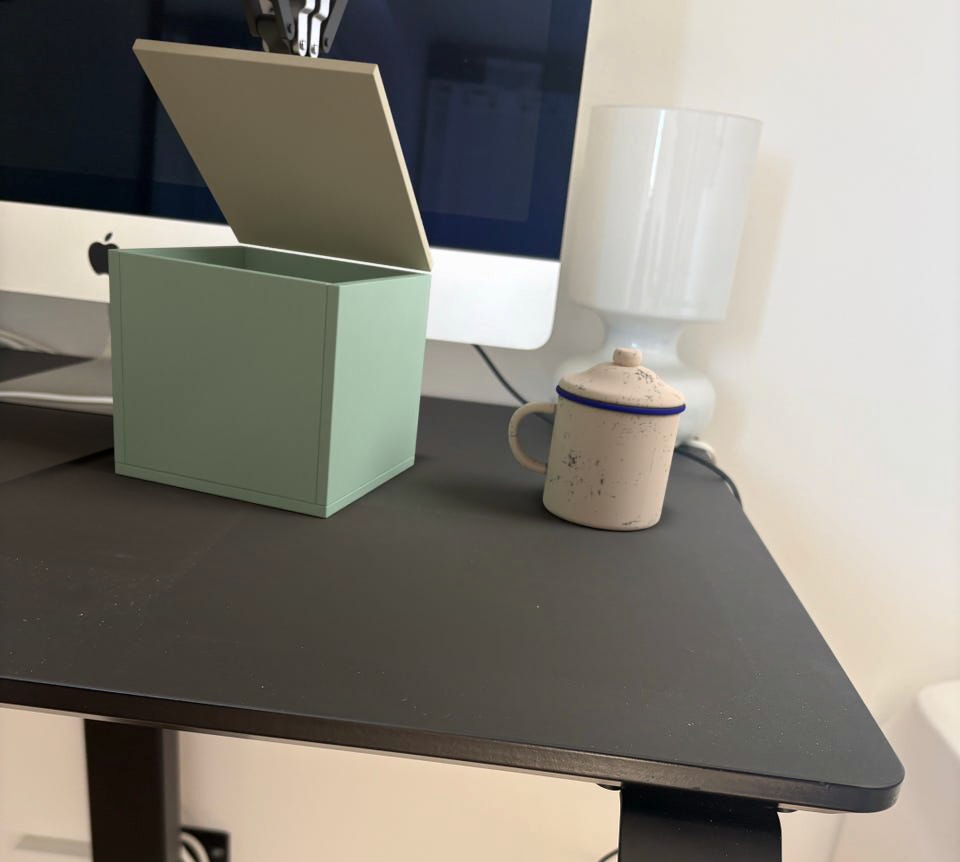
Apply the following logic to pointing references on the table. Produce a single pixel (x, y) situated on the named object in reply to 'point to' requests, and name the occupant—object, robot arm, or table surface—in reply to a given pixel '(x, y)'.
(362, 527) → the table surface
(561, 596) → the table surface
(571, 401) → the teacup with lid
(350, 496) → the green open box
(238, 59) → the lid
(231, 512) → the table surface
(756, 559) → the table surface
